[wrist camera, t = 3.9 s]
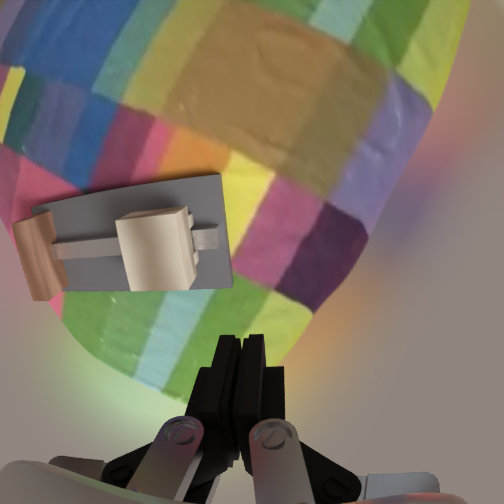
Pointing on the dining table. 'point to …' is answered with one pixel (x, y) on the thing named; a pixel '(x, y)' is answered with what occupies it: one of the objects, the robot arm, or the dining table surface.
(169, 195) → the rail board
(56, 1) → the dining table surface
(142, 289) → the block
